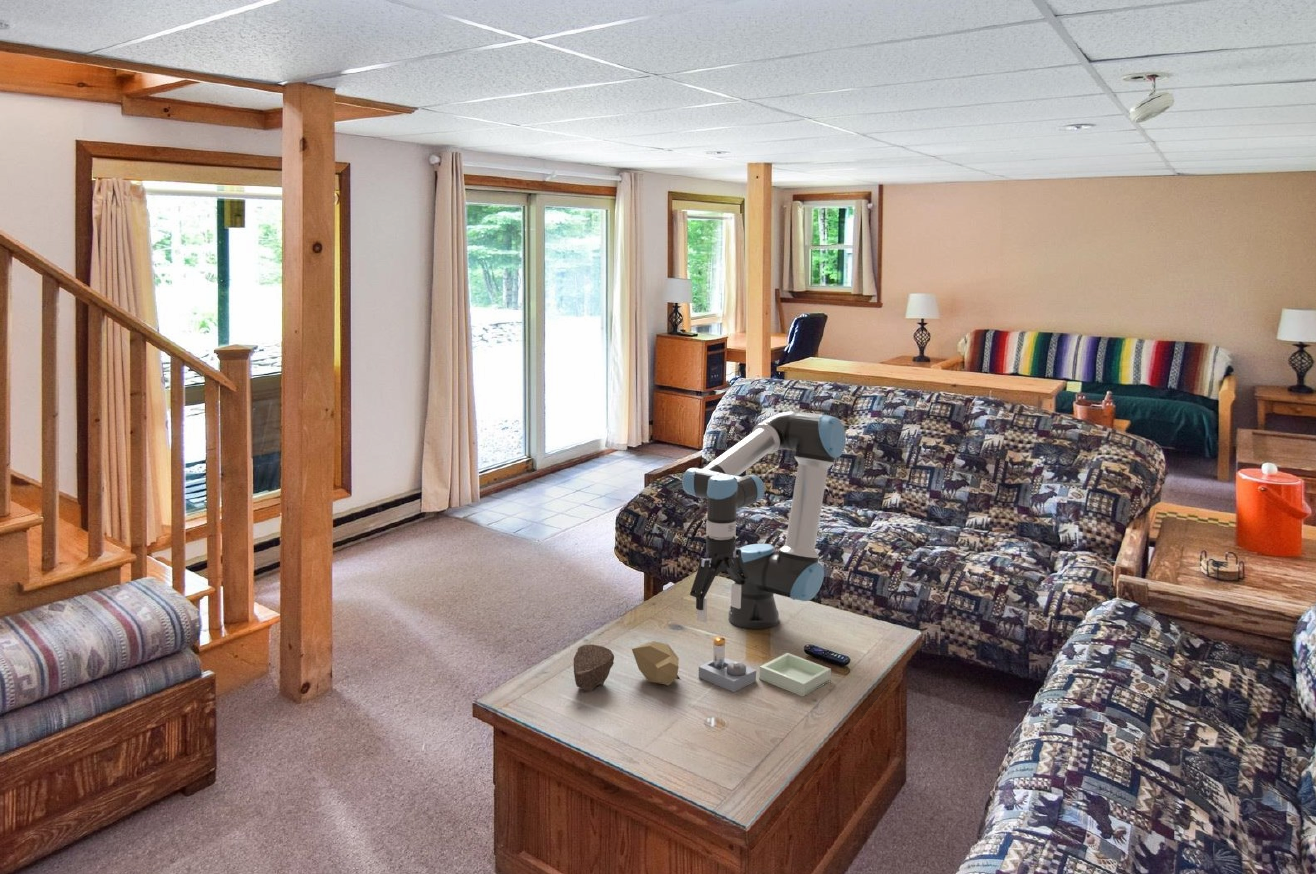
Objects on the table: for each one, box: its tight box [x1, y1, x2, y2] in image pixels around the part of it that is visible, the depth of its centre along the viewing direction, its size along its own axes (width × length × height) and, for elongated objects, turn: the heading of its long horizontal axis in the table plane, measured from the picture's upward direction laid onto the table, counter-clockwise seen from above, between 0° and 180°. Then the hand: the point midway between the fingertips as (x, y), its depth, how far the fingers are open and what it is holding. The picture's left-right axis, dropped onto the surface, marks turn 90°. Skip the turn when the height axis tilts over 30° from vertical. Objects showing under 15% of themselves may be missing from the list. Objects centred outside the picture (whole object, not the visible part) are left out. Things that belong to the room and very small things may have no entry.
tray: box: [759, 652, 832, 697], centre depth 245 cm, size 14×12×4 cm
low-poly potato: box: [631, 641, 681, 686], centre depth 243 cm, size 15×11×12 cm
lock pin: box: [712, 636, 726, 670], centre depth 247 cm, size 3×3×10 cm
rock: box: [573, 644, 615, 692], centre depth 241 cm, size 12×10×10 cm
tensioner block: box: [698, 657, 757, 693], centre depth 245 cm, size 12×9×6 cm
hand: (719, 614), depth 244 cm, fingers open, 13 cm apart
